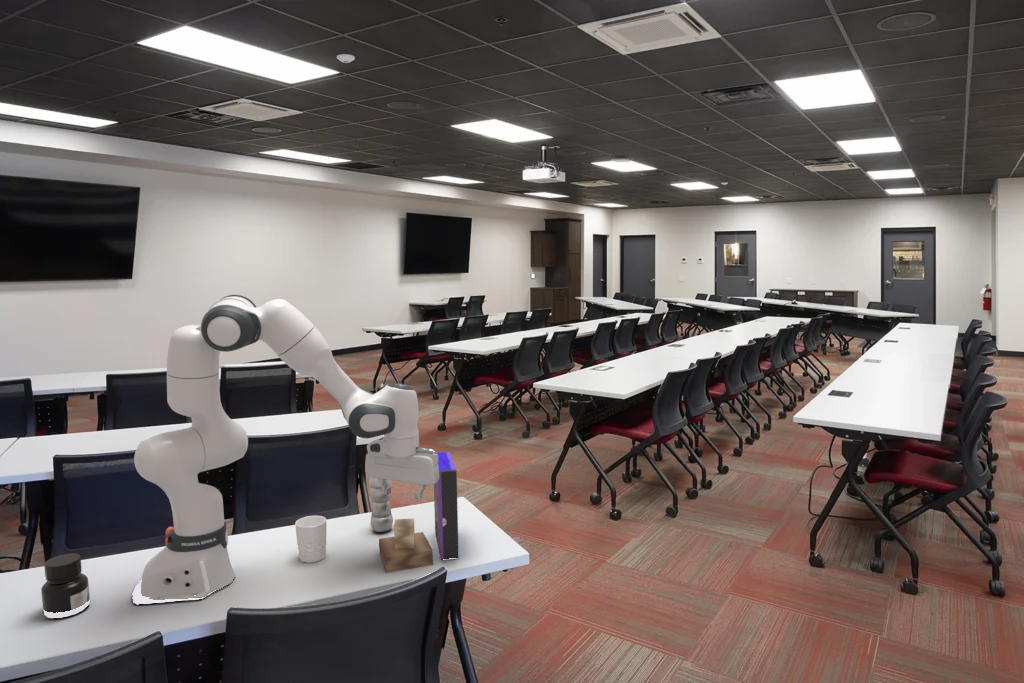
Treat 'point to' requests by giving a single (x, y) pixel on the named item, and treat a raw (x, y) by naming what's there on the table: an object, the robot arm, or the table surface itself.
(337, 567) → the table surface
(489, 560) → the table surface
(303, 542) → the white cup
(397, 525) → the maple block
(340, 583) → the table surface
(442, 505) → the cereal box
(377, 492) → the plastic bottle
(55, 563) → the ink bottle
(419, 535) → the walnut base
